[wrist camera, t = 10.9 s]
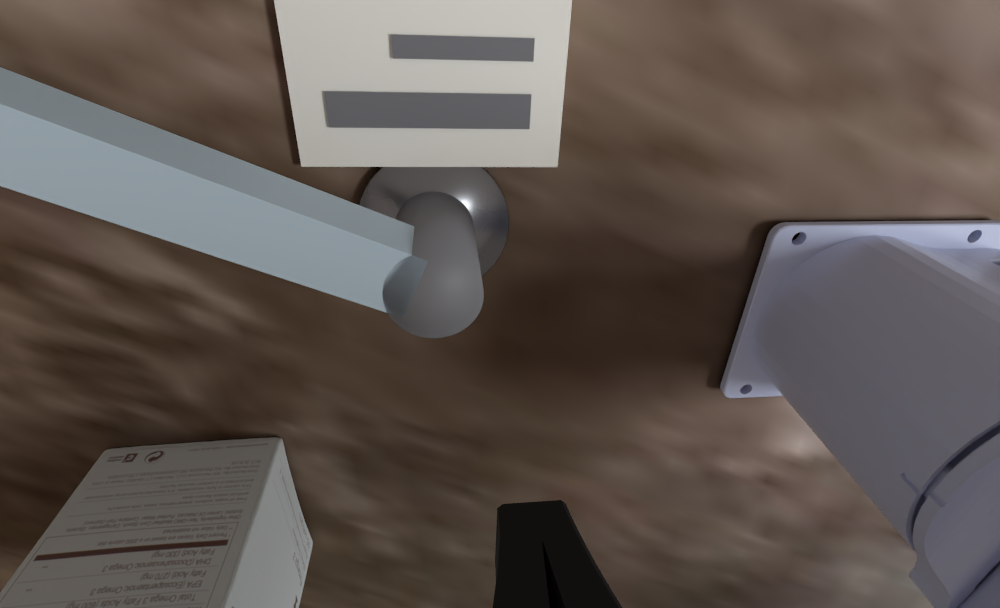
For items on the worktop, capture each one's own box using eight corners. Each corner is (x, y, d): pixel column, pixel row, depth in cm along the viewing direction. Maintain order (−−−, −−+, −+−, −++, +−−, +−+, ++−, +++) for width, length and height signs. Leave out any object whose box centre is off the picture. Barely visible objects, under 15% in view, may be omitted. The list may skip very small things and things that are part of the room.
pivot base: (510, 148, 17) (512, 151, 17) (505, 285, 19) (506, 289, 19) (350, 147, 16) (349, 150, 16) (366, 288, 19) (365, 292, 19)
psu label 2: (571, -14, 15) (574, -14, 14) (555, 164, 17) (557, 168, 17) (272, -26, 14) (268, -26, 14) (303, 163, 16) (300, 167, 16)
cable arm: (486, 209, 17) (501, 276, 13) (455, 275, 18) (460, 354, 14) (-157, -56, 12) (-439, -76, 8) (-146, 55, 13) (-389, 84, 9)
